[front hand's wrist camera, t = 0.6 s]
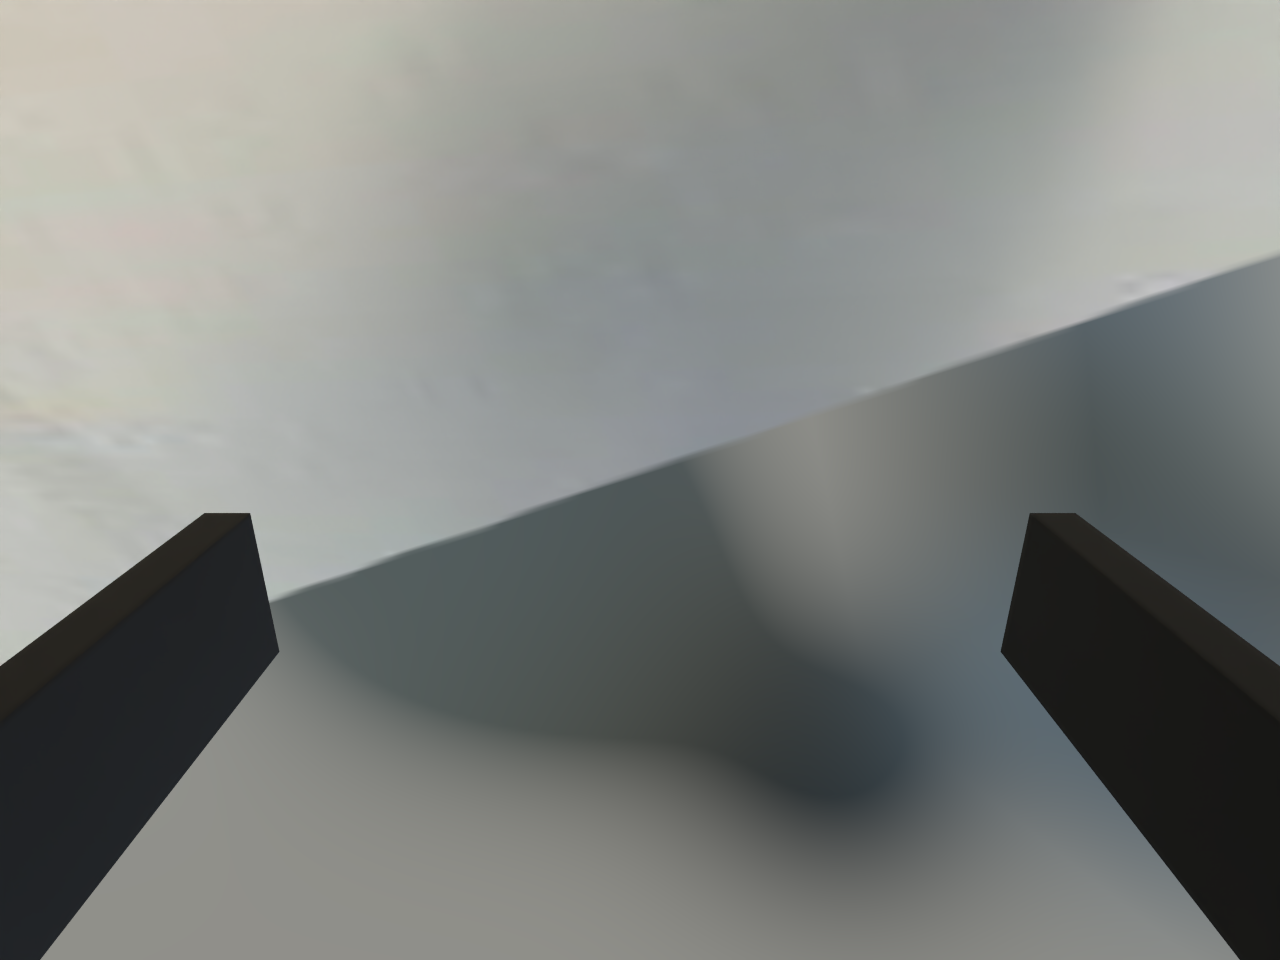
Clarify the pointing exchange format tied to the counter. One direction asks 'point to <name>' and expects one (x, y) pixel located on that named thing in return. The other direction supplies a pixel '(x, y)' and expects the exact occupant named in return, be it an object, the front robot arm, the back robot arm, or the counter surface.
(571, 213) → the counter surface
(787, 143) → the counter surface
